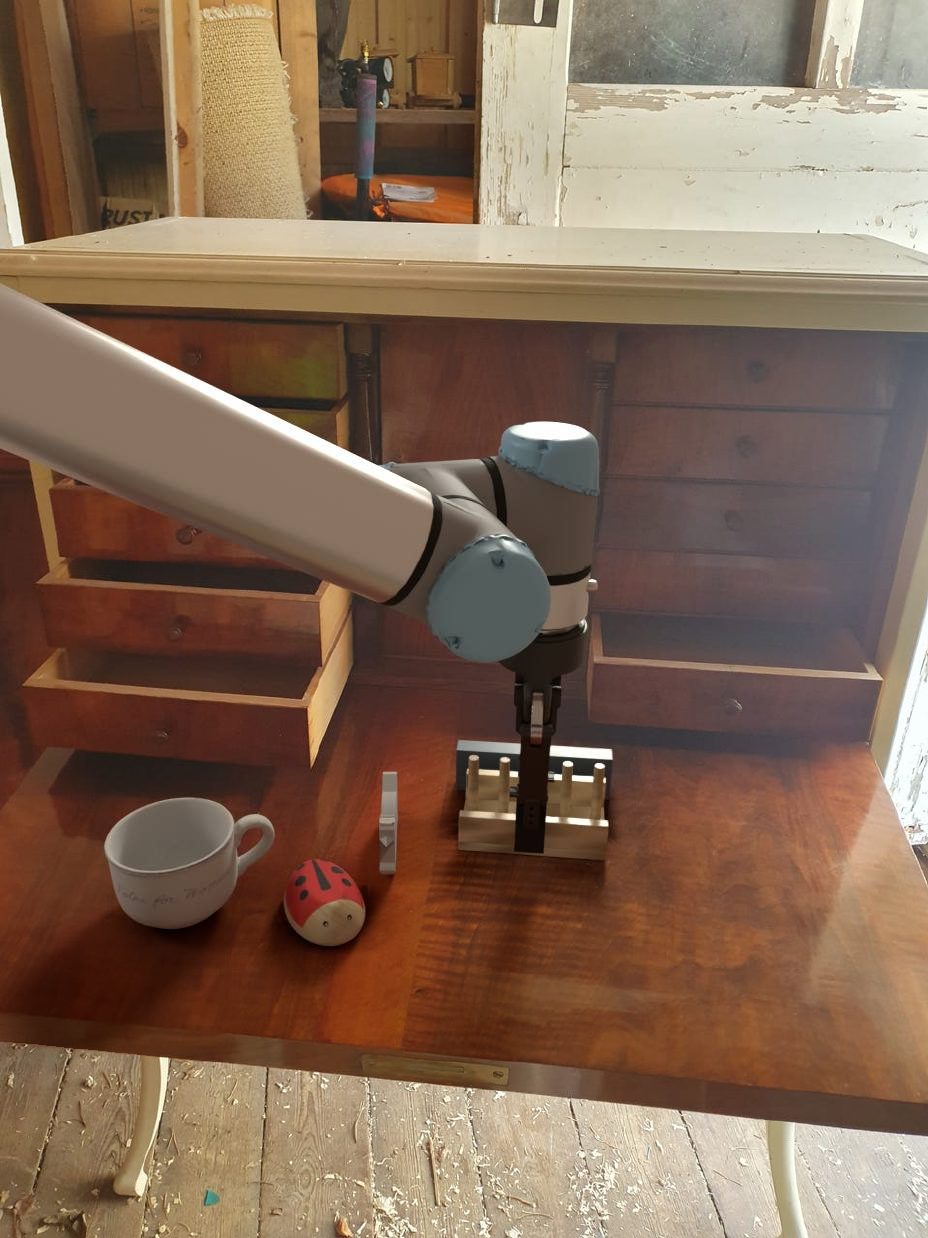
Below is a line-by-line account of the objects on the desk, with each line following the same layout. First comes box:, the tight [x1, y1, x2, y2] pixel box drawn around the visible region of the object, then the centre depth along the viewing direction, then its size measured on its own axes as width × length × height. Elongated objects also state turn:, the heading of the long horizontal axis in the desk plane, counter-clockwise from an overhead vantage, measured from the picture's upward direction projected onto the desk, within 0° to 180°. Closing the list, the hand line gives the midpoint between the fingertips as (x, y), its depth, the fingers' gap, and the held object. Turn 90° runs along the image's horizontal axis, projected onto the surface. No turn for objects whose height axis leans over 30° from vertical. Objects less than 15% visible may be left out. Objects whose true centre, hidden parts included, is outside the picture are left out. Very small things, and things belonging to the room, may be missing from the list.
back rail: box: [455, 739, 614, 801], centre depth 100 cm, size 16×2×5 cm, turn 85°
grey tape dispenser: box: [378, 771, 399, 875], centre depth 91 cm, size 6×1×10 cm
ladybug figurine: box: [283, 858, 366, 947], centre depth 84 cm, size 7×10×4 cm
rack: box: [458, 755, 610, 862], centre depth 94 cm, size 14×8×8 cm, turn 84°
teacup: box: [103, 797, 276, 930], centre depth 84 cm, size 14×11×8 cm
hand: (529, 847), depth 89 cm, fingers closed
